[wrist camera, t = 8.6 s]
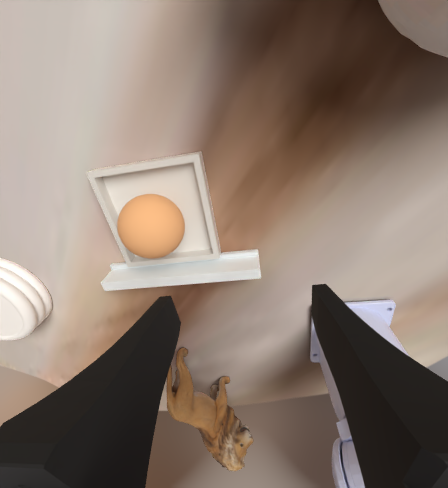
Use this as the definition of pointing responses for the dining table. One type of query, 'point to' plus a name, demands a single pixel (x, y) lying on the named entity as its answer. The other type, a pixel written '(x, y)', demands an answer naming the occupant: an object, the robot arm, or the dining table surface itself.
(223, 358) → the dining table surface
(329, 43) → the dining table surface
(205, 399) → the lion figurine
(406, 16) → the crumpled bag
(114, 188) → the tray
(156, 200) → the ball
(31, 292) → the coaster
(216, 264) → the white picture ledge
